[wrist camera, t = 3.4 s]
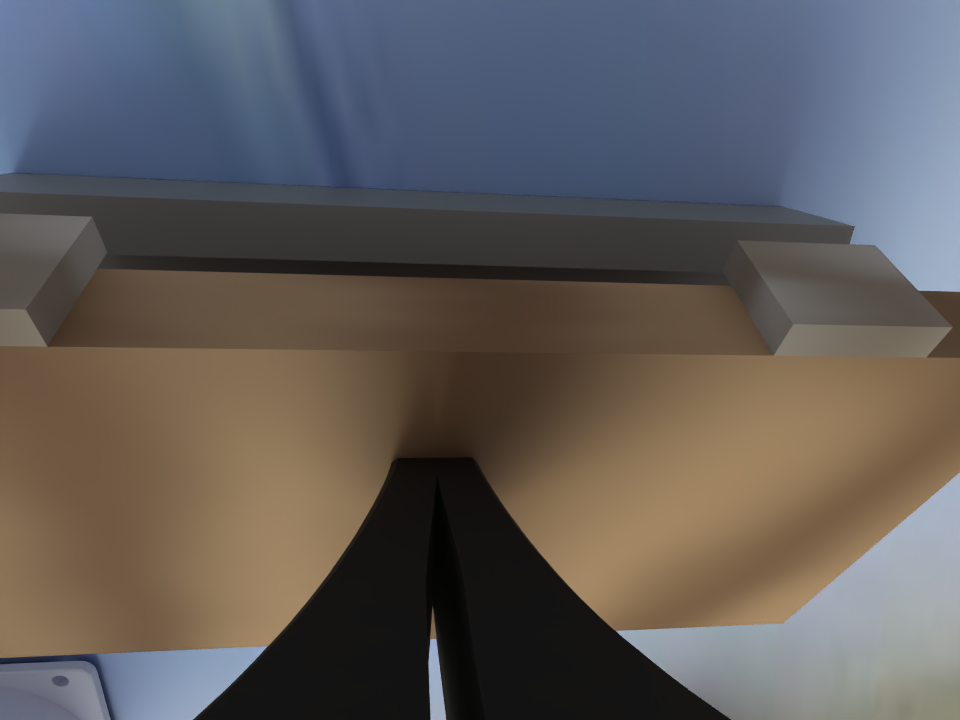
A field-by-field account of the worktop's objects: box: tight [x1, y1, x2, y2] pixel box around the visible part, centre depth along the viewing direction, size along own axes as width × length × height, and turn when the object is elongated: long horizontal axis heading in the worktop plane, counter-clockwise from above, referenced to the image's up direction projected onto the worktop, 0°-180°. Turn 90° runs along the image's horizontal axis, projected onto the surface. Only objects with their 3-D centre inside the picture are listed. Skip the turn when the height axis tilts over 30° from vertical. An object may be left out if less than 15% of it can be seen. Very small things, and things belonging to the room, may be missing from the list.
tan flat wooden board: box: [0, 213, 960, 658], centre depth 12 cm, size 20×11×2 cm, turn 87°
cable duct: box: [0, 173, 855, 286], centre depth 16 cm, size 20×10×3 cm, turn 87°
